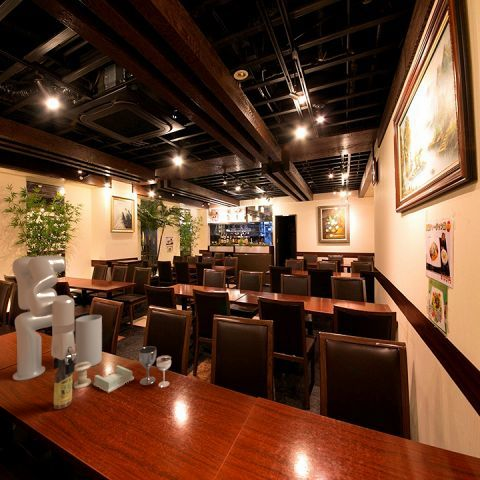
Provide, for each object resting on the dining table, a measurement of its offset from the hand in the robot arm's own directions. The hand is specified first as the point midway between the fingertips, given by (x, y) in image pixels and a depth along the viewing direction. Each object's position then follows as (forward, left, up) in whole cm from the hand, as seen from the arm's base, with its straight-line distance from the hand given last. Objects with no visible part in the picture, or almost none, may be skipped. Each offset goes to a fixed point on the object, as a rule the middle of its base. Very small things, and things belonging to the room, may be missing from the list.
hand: (63, 370), depth 103 cm
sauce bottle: (-1, 0, -15) cm, 15 cm away
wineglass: (+23, +32, -15) cm, 42 cm away
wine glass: (+14, +30, -15) cm, 36 cm away
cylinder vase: (-29, +25, -15) cm, 41 cm away
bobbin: (-10, +12, -14) cm, 21 cm away
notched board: (+1, +21, -14) cm, 26 cm away
